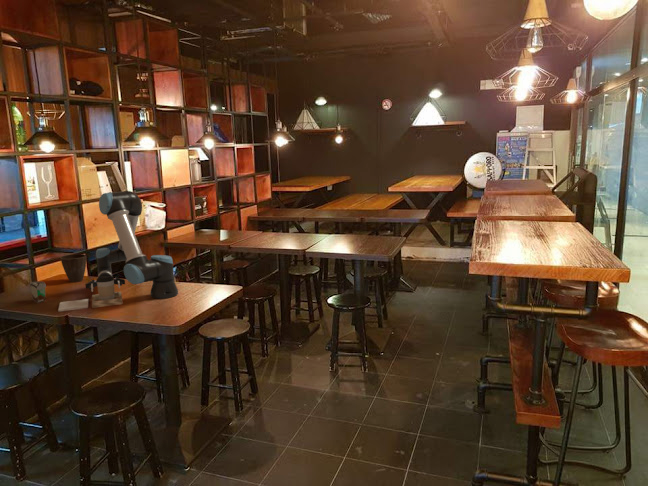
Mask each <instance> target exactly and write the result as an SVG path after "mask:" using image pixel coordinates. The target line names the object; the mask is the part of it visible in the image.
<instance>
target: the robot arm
mask: <svg viewBox="0 0 648 486" xmlns="http://www.w3.org/2000/svg"><path fill="white" fill-rule="evenodd" d="M142 202H143V201H142V200H141V197H139V195H138V194H136V193H135V192H133V191H131V190H123V191H113V192H112V191H110V192H104V193H102V194H101V195H100V197H99V200H98V208H99V211H100V213H101V214H102V215H105V216H106V217H107V219H109V220H111V222H112V225H113V226H114V229H115V232H116V235H117V238H118V246H117V249H112V250H110V248H107V247H102V248H97V249H96V251H95V258H96V259H95V260H96V266H97V267H96V269H97V278H98V277H99V276H102V275H106V274H110V275H111V276H112V277H113V272H112V271H113V270H112V264H114V263H118V262H124V261H125V262H124V264H125V265H123V266H124V267H123V274H124V277H125V279H126V280H127V281H128V282H129V283H131V284H132V285H139V284H143V283H146V282H151V281H152V286H151V289H150V293H149V294H150V297H151V298H153V299H169V298H174V297H176V296H177V294H178V295H179V289H178V286H177V285H176V283H175V275H174V262H173V258H172V256H170V255H164V254H155V255H151V256H150V259H148V257H147V255H146V254H144V253H143V251H142V249H141V247H140V244H139V241H138V238H137V237H136V233H135V232H136V229H137V225H138V221H139V217H140V216H141V215H142V211H143V203H142ZM125 279H124V278H121V277H118V276H116V277H115V278H114V285H118V289H121V286H123V285H126V280H125ZM95 287H97V282H96V279H92V280H90V281H88V282H86V283H85V289H89V290H91V292H92V293H93V292H94V288H95ZM173 296H174V297H173Z"/></svg>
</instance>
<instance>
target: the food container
mask: <svg viewBox="0 0 648 486" xmlns="http://www.w3.org/2000/svg"><path fill="white" fill-rule="evenodd" d="M29 287H30V293H31V298H32V301H33V300H34V301H33V302H35V303H37V304H42V303H45V302H46V301H45V300H46V288H47V285H46V283H45V281H32V282H29ZM41 302H42V303H41Z"/></svg>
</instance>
